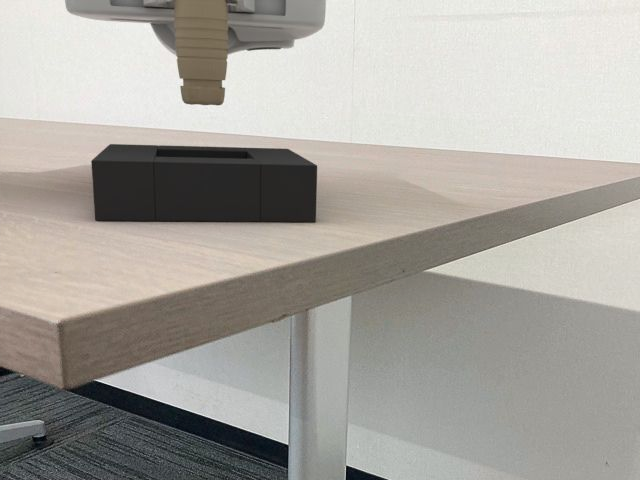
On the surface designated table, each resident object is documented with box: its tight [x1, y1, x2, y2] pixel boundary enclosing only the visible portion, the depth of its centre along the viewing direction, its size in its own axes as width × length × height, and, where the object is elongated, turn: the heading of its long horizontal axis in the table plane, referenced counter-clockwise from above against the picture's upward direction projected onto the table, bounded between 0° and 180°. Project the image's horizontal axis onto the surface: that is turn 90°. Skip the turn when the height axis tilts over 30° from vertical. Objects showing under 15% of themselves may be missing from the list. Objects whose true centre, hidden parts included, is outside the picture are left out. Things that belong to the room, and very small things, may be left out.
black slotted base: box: [90, 143, 318, 223], centre depth 60 cm, size 15×15×4 cm
